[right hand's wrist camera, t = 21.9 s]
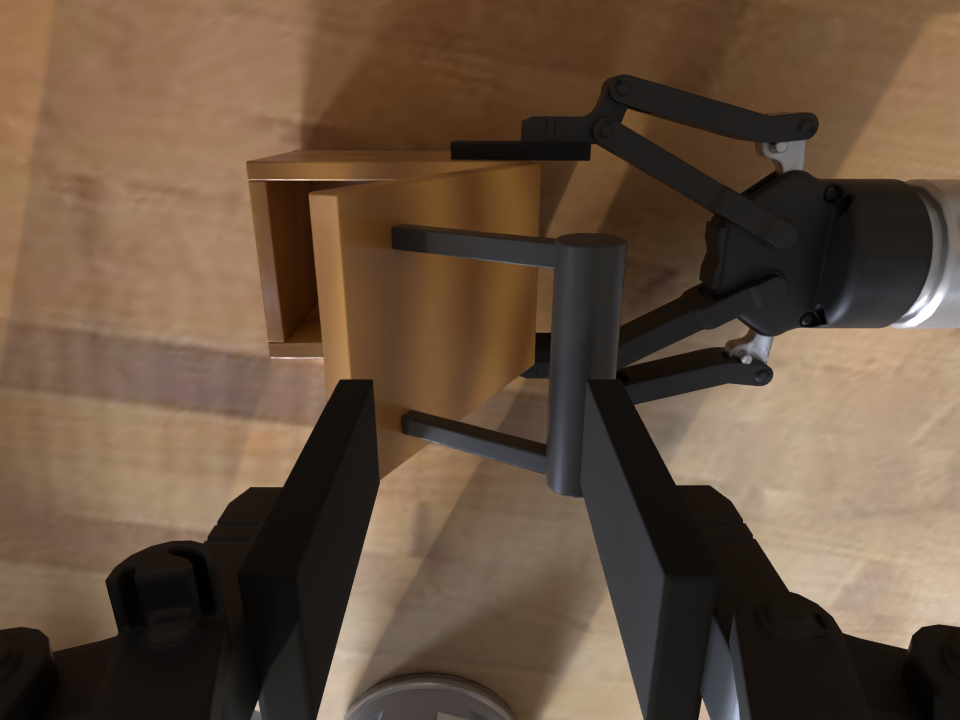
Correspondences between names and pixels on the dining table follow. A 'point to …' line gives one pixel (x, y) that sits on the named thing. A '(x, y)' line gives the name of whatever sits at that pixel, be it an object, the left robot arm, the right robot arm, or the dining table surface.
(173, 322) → the dining table surface
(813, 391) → the dining table surface
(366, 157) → the chest
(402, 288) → the lid
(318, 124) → the dining table surface
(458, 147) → the left robot arm
